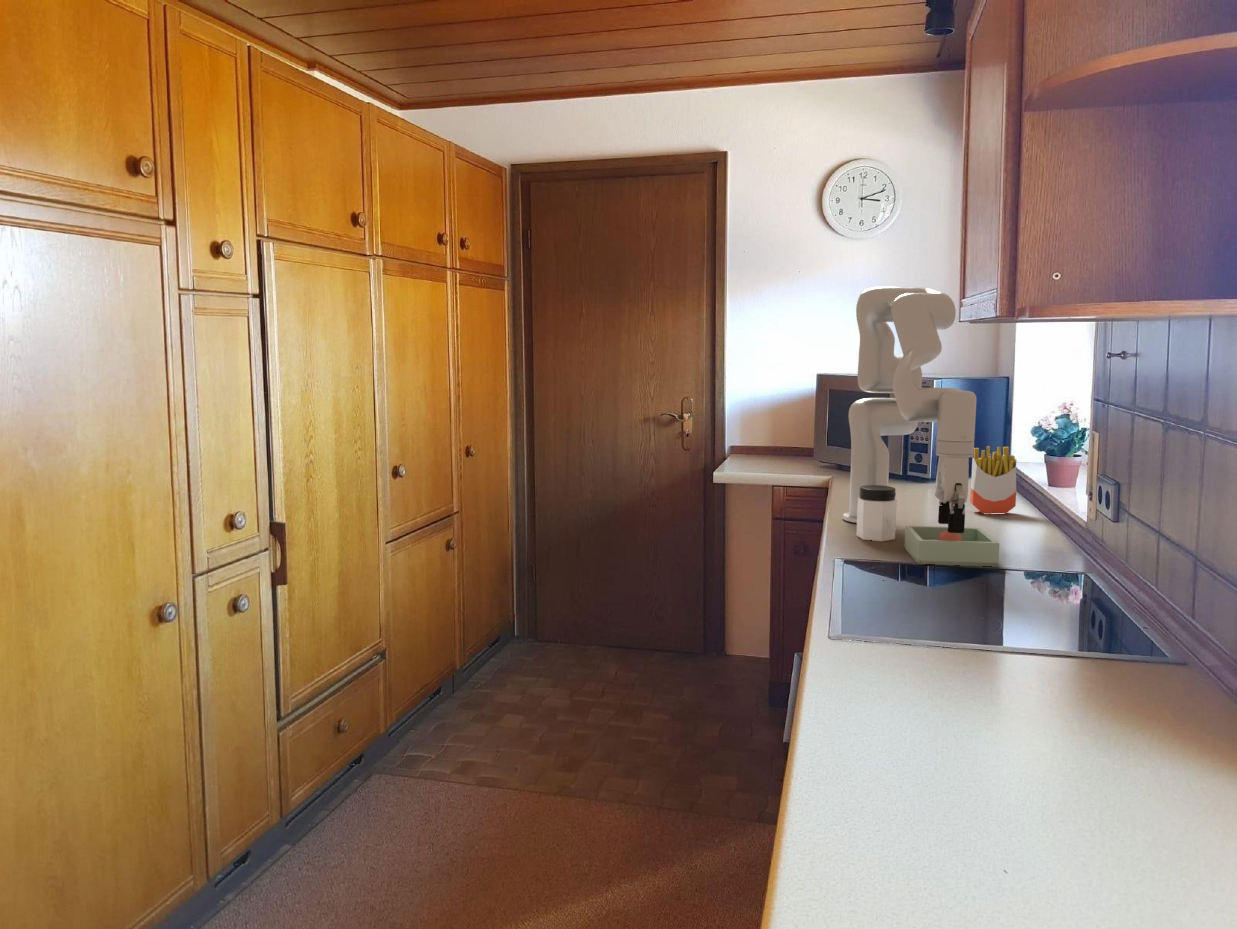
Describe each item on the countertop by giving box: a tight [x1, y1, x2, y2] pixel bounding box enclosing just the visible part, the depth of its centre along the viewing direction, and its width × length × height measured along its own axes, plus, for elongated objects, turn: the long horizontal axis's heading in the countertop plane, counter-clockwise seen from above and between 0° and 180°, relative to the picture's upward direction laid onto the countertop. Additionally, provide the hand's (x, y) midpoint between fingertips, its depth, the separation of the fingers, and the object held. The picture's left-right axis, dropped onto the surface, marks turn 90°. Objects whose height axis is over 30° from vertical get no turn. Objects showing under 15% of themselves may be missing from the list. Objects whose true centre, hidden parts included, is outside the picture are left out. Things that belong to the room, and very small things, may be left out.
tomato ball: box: [938, 530, 962, 541], centre depth 200 cm, size 5×5×5 cm
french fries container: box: [969, 445, 1017, 514], centre depth 251 cm, size 5×11×18 cm, turn 79°
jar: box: [855, 485, 898, 543], centre depth 219 cm, size 9×8×12 cm
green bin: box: [904, 525, 1000, 568], centre depth 200 cm, size 16×16×5 cm
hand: (950, 528), depth 200 cm, fingers open, 9 cm apart
